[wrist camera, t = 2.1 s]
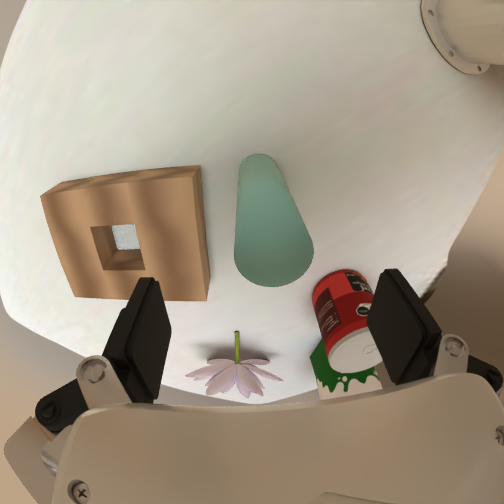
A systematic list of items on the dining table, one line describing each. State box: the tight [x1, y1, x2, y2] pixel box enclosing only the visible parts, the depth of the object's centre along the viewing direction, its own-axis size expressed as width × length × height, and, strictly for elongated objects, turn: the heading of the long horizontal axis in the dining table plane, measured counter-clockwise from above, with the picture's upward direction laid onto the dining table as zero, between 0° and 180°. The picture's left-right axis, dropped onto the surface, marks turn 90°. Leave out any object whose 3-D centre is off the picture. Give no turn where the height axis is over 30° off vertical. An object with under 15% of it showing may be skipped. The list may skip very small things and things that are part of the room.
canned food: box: [312, 270, 382, 373], centre depth 31 cm, size 8×8×11 cm
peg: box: [234, 154, 314, 287], centre depth 21 cm, size 4×4×16 cm
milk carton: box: [310, 339, 382, 400], centre depth 34 cm, size 9×9×20 cm
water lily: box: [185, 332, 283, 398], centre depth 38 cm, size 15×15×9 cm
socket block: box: [40, 165, 210, 301], centre depth 28 cm, size 18×14×4 cm
